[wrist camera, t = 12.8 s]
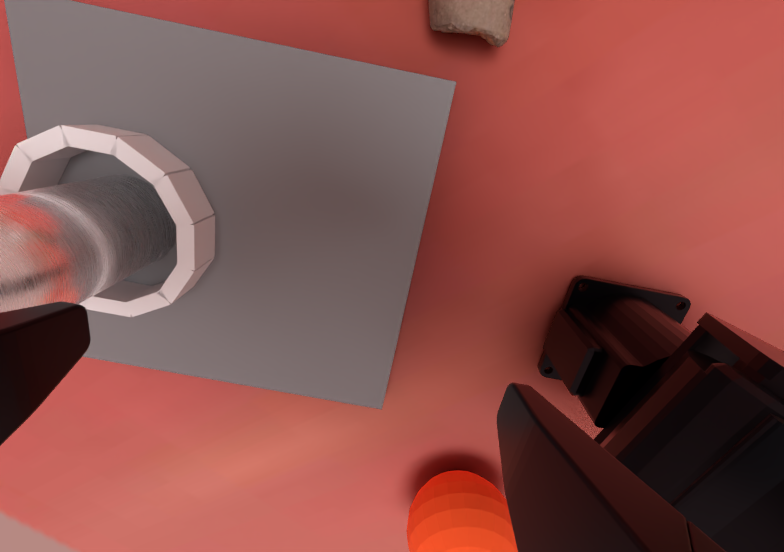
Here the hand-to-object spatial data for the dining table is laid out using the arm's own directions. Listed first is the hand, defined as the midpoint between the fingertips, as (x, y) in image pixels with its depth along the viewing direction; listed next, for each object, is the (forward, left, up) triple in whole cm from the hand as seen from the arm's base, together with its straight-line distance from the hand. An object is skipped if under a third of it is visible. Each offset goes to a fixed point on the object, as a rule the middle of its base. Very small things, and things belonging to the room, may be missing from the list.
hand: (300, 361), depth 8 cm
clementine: (-9, +18, -13) cm, 24 cm away
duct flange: (+6, +2, -13) cm, 15 cm away
